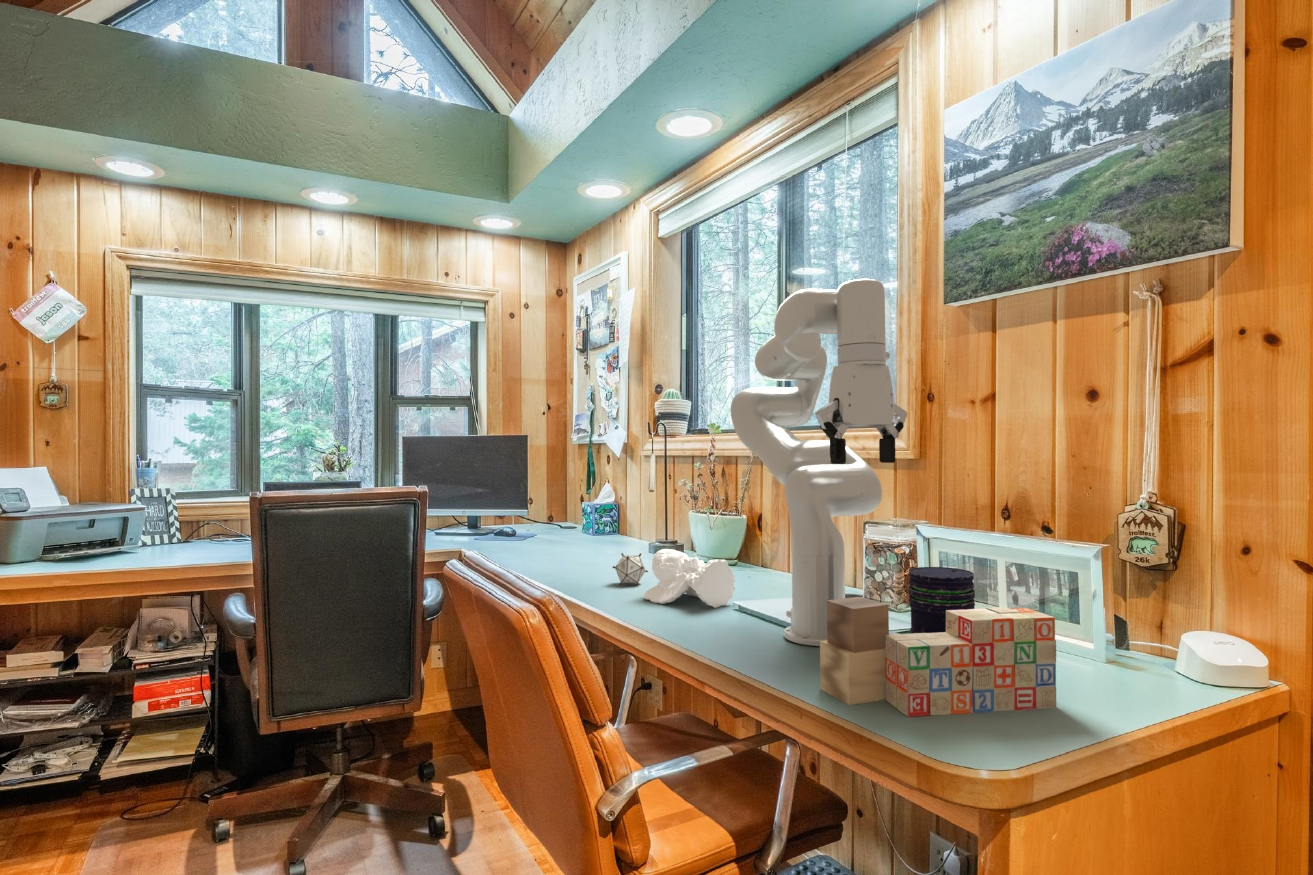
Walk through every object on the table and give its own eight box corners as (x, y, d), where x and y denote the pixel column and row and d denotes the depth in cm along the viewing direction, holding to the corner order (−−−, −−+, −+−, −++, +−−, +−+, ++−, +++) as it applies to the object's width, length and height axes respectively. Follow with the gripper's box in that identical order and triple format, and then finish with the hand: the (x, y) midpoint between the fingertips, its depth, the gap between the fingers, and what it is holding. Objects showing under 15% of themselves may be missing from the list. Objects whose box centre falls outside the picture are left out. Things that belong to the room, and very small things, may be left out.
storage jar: (943, 679, 107) (942, 579, 107) (895, 662, 116) (894, 569, 116) (990, 670, 111) (989, 574, 111) (941, 654, 120) (939, 564, 120)
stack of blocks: (907, 718, 92) (906, 623, 92) (885, 701, 98) (883, 612, 98) (1058, 708, 95) (1056, 615, 95) (1026, 692, 101) (1025, 605, 102)
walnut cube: (827, 642, 103) (826, 600, 103) (861, 637, 105) (860, 596, 105) (854, 653, 97) (853, 608, 97) (889, 647, 100) (888, 604, 100)
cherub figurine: (693, 565, 151) (636, 545, 166) (691, 622, 152) (634, 597, 167) (737, 556, 159) (678, 538, 174) (734, 611, 160) (676, 588, 175)
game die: (636, 597, 185) (658, 565, 187) (629, 592, 177) (652, 558, 180) (609, 579, 188) (631, 547, 190) (601, 573, 181) (624, 540, 183)
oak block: (820, 689, 103) (819, 641, 103) (861, 683, 106) (860, 636, 106) (849, 705, 97) (848, 653, 97) (891, 698, 99) (891, 648, 99)
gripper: (888, 362, 122) (890, 461, 122) (803, 358, 116) (804, 463, 116) (920, 356, 116) (922, 462, 115) (830, 352, 109) (832, 464, 109)
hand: (863, 463), depth 116 cm, fingers open, 9 cm apart
